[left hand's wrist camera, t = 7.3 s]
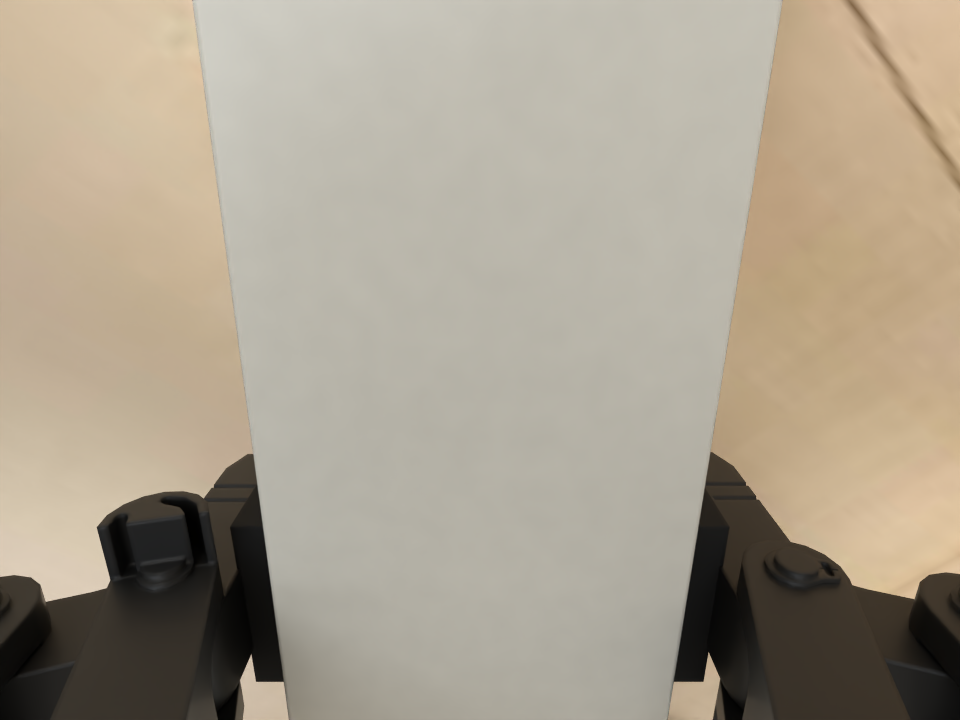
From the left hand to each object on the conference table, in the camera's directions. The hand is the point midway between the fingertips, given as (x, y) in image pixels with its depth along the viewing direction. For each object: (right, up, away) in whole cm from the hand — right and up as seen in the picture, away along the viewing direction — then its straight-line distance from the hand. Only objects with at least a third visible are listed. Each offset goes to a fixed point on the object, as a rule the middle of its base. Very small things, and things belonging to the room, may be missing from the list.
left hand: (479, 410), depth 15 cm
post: (0, +29, -10) cm, 30 cm away
